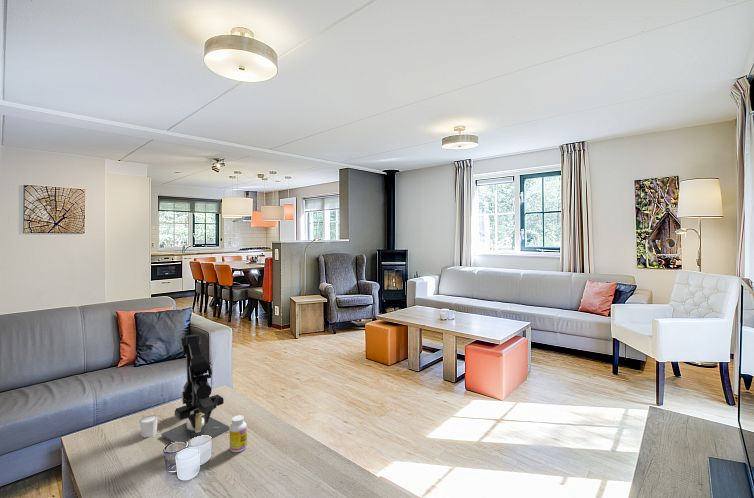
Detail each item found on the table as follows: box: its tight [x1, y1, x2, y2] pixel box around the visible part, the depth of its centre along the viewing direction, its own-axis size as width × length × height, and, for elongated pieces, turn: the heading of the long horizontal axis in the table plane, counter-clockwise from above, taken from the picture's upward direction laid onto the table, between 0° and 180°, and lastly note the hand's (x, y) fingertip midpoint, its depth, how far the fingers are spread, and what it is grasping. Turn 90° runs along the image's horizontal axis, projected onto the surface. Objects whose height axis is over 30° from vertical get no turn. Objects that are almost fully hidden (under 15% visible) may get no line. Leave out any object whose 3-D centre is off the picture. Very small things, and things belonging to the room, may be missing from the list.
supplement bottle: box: [228, 414, 248, 453], centre depth 150 cm, size 7×7×13 cm
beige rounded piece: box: [186, 412, 204, 433], centre depth 160 cm, size 12×7×8 cm, turn 35°
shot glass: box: [139, 414, 158, 439], centre depth 162 cm, size 7×7×7 cm
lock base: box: [161, 414, 230, 444], centre depth 162 cm, size 20×20×3 cm
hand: (200, 425), depth 157 cm, fingers open, 5 cm apart
